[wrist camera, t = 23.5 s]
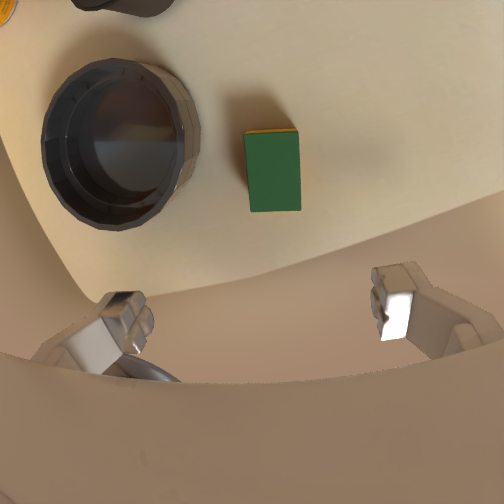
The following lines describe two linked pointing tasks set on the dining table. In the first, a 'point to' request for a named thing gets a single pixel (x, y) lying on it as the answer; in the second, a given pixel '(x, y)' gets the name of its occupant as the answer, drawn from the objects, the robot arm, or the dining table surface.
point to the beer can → (6, 10)
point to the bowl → (119, 143)
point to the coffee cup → (126, 6)
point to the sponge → (273, 170)
